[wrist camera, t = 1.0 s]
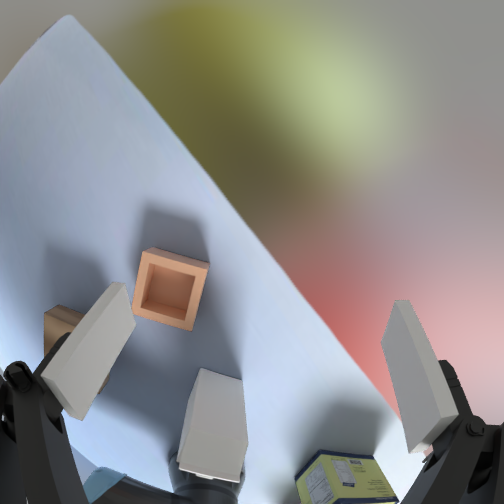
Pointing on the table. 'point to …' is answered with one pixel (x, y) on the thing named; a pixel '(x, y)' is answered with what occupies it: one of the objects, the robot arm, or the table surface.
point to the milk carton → (214, 428)
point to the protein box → (343, 480)
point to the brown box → (61, 328)
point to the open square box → (169, 288)
